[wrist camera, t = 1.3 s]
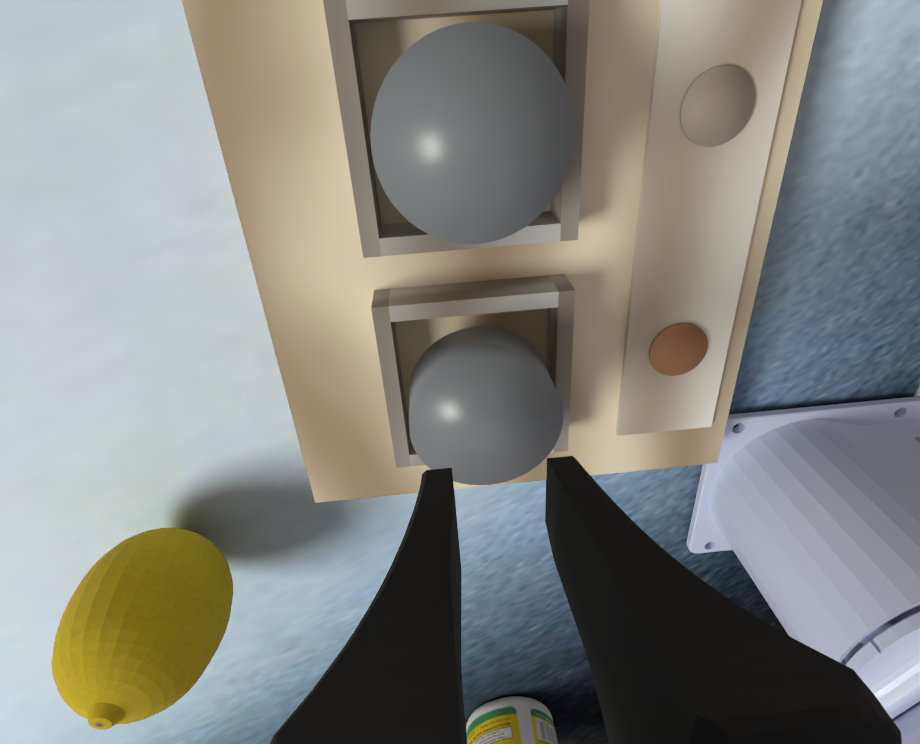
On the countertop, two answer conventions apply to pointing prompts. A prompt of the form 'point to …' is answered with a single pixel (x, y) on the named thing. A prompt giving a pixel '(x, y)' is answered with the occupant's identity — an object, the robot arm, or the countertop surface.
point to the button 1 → (483, 406)
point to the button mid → (472, 133)
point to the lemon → (142, 626)
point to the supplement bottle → (511, 722)
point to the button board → (527, 251)
